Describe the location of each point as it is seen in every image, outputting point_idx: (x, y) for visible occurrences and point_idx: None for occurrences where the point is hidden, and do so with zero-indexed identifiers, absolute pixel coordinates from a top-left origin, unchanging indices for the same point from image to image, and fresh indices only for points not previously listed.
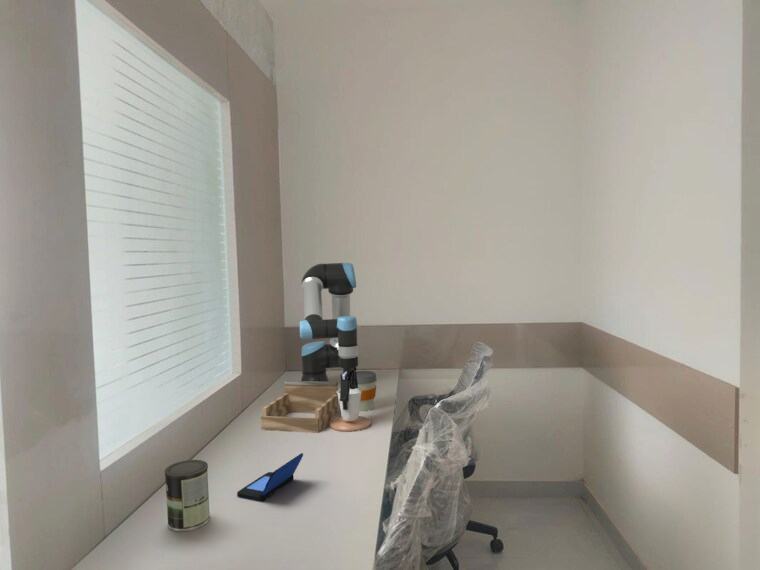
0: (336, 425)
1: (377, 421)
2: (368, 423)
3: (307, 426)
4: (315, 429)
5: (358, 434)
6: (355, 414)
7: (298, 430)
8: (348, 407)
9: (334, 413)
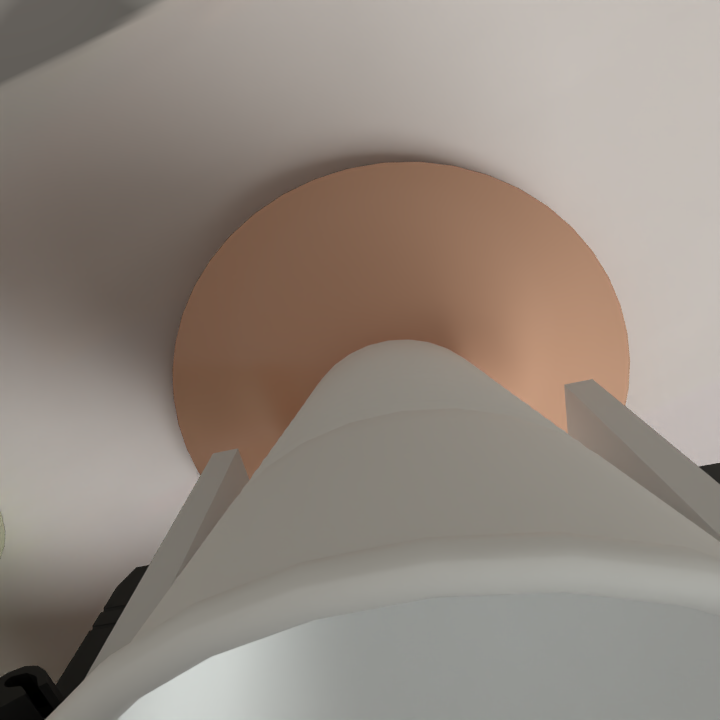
0: None
1: (164, 167)
2: (382, 179)
3: None
4: None
5: (673, 160)
6: (463, 362)
7: None
8: (694, 476)
9: None
